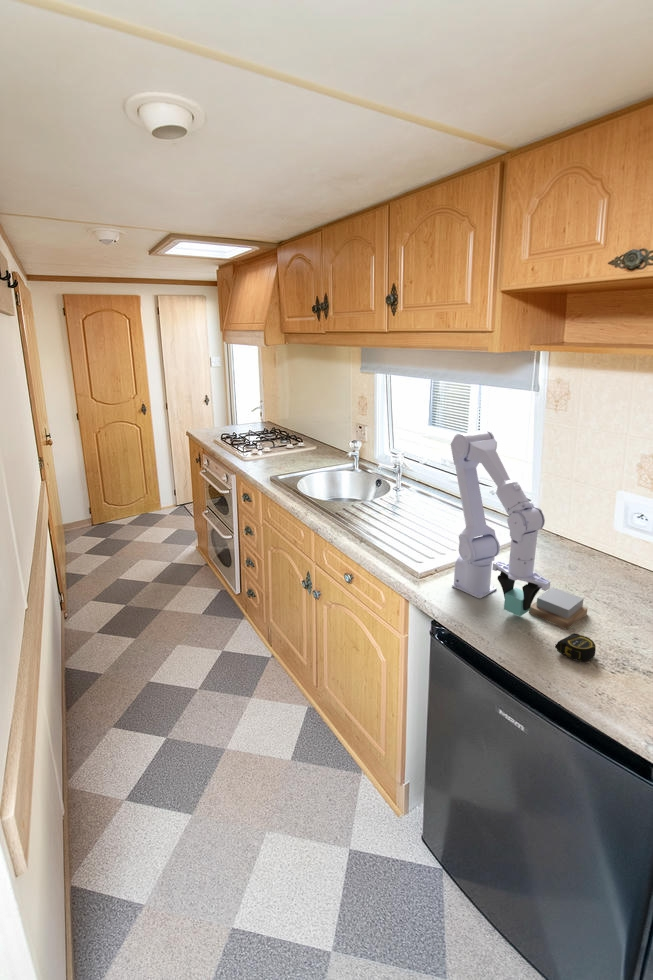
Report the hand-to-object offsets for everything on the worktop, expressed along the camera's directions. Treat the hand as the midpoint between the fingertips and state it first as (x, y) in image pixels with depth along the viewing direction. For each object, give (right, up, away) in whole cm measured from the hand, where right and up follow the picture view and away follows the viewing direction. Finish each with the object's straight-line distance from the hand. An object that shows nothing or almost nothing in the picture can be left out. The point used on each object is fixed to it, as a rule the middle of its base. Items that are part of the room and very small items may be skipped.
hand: (517, 604), depth 130 cm
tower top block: (+11, -1, +1) cm, 11 cm away
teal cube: (0, -1, 0) cm, 1 cm away
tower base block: (+11, -3, +2) cm, 12 cm away
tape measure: (+7, -8, -14) cm, 18 cm away
